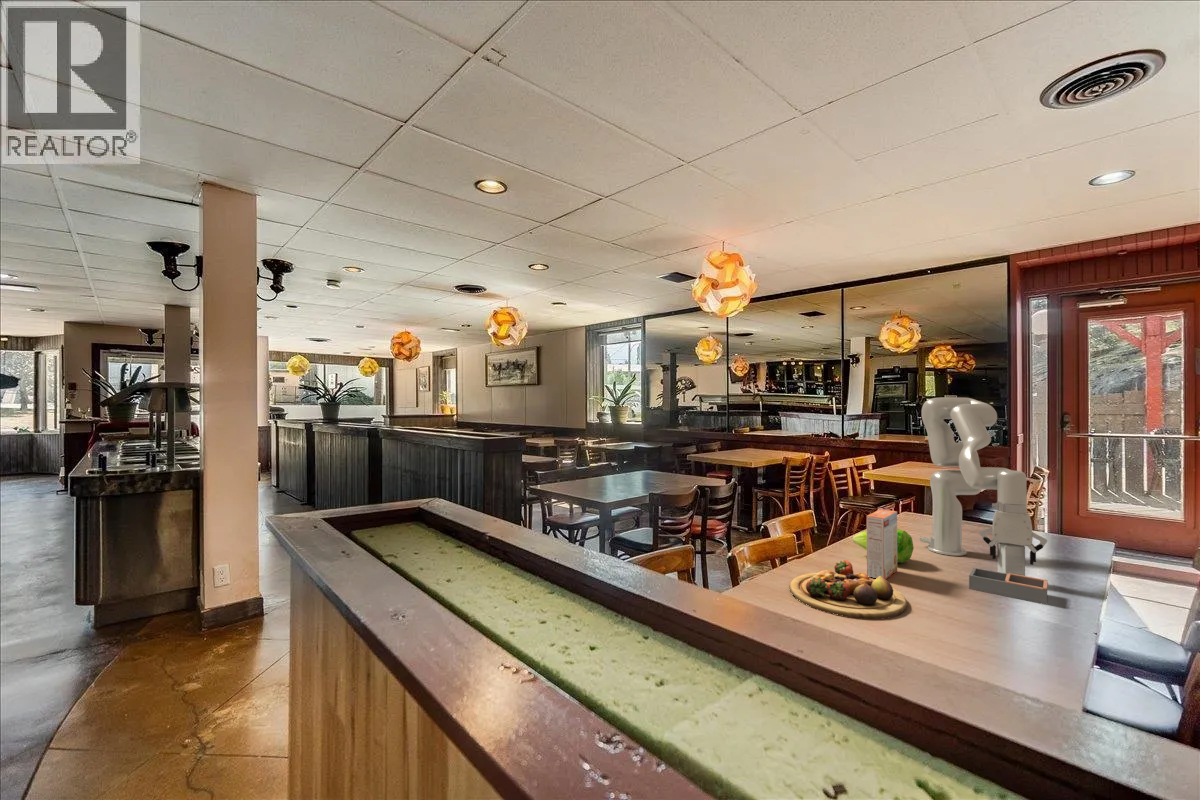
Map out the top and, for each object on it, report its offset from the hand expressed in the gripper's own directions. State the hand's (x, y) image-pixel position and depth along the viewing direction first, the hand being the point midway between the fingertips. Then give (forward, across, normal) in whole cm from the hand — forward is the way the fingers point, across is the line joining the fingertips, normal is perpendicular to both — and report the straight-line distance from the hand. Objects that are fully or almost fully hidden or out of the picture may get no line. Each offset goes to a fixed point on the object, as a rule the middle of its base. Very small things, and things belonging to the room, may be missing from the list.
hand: (1012, 560), depth 169 cm
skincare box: (+7, -1, +1) cm, 7 cm away
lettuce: (+6, -38, -3) cm, 38 cm away
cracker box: (+7, -34, -21) cm, 40 cm away
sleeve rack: (+7, 0, -12) cm, 14 cm away
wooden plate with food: (+8, -37, -50) cm, 63 cm away
